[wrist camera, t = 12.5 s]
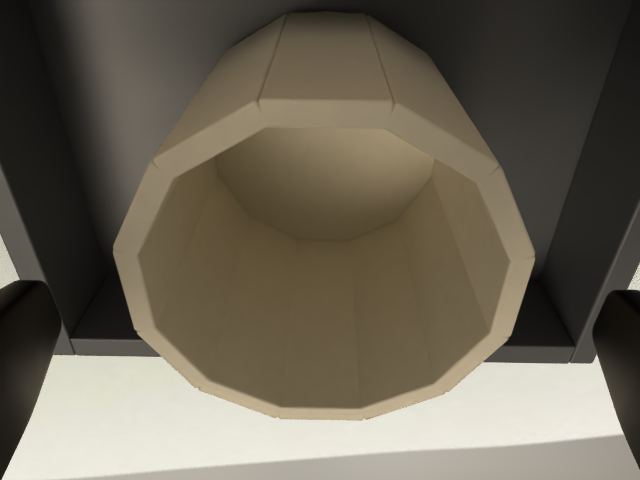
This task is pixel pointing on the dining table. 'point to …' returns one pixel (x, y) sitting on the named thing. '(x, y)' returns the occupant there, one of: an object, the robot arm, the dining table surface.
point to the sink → (241, 22)
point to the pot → (324, 228)
